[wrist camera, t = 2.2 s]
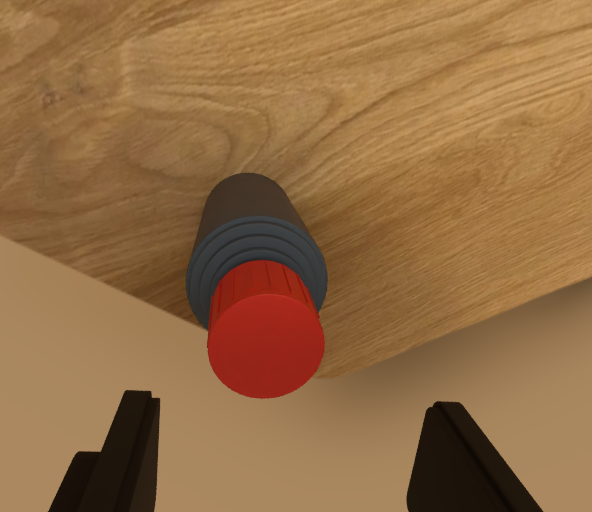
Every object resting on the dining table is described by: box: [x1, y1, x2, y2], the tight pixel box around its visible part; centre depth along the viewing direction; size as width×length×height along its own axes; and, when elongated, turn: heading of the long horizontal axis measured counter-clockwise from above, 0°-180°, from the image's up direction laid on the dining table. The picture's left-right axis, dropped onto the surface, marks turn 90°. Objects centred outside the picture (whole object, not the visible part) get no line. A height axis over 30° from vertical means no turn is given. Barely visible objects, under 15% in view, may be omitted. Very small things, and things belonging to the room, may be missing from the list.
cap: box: [207, 260, 325, 399], centre depth 17 cm, size 4×4×4 cm
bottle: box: [186, 173, 328, 331], centre depth 25 cm, size 6×6×20 cm
